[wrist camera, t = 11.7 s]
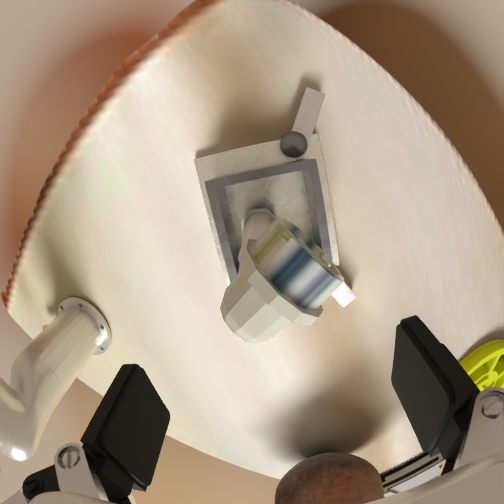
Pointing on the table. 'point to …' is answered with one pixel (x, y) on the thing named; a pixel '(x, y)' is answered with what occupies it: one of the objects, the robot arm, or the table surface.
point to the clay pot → (330, 481)
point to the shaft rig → (272, 189)
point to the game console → (412, 474)
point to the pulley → (486, 365)
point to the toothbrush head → (276, 278)
